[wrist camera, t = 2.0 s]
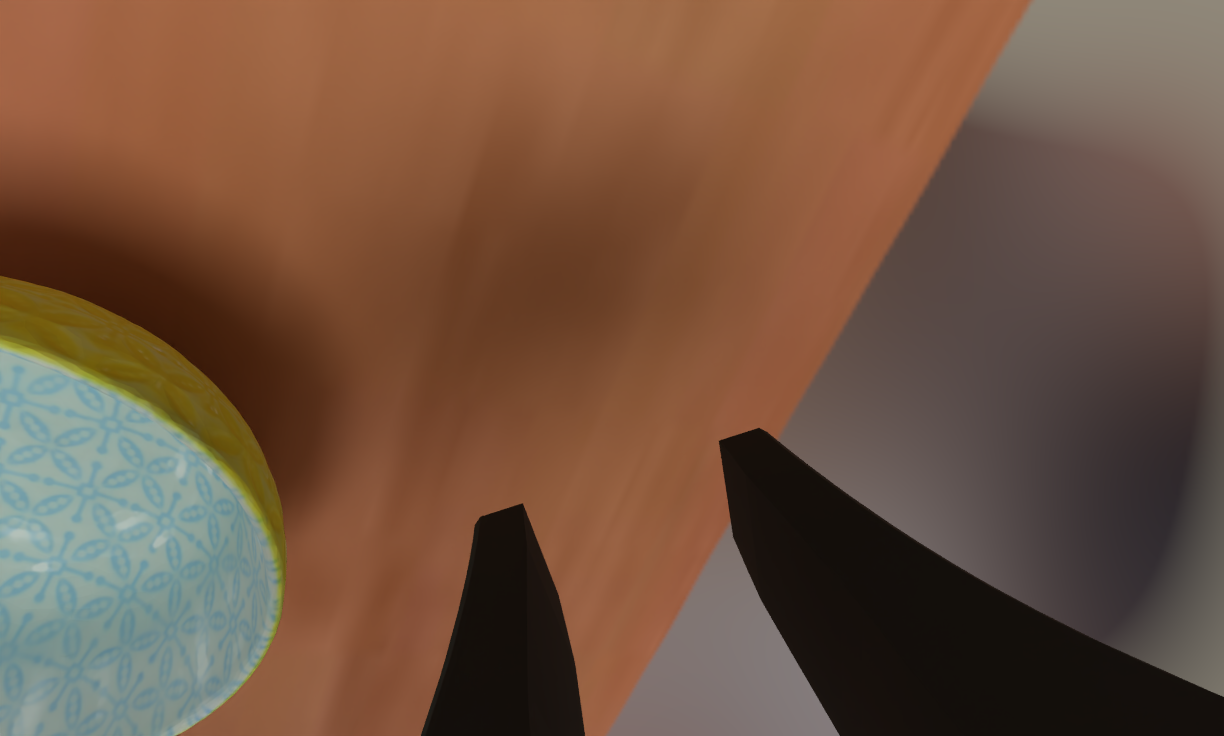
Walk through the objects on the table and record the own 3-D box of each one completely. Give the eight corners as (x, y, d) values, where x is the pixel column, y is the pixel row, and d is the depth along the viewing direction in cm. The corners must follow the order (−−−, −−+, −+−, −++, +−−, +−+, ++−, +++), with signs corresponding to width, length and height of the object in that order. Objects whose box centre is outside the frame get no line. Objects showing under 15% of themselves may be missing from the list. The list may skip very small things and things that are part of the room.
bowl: (-105, 31, 13) (-455, 104, 8) (409, 373, 19) (406, 541, 14) (-367, 431, 15) (-764, 690, 10) (162, 618, 21) (83, 838, 16)
